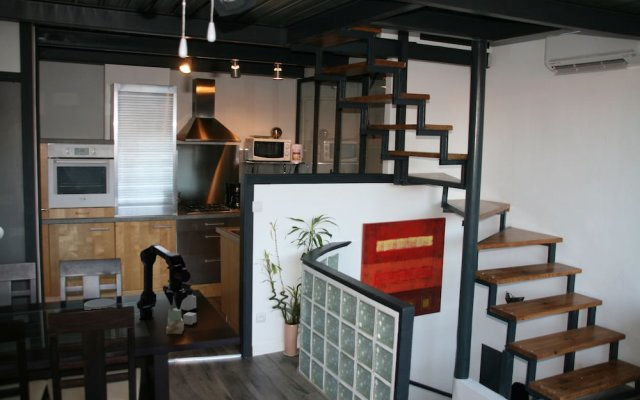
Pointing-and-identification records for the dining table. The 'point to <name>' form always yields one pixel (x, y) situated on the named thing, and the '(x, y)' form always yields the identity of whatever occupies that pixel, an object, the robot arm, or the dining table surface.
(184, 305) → the medicine bottle
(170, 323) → the birch slab
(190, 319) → the grey cube
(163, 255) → the robot arm
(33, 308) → the dining table surface
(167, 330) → the oak slab
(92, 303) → the cereal bowl
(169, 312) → the sage cube
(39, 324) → the dining table surface
